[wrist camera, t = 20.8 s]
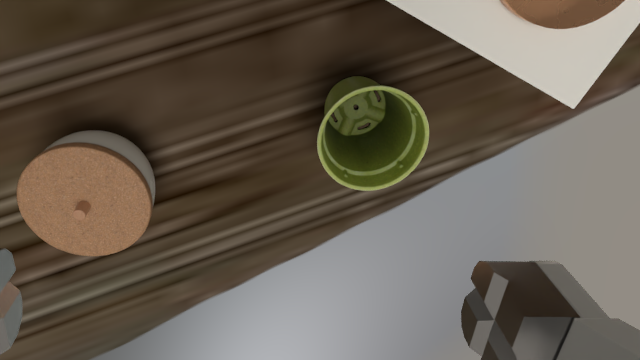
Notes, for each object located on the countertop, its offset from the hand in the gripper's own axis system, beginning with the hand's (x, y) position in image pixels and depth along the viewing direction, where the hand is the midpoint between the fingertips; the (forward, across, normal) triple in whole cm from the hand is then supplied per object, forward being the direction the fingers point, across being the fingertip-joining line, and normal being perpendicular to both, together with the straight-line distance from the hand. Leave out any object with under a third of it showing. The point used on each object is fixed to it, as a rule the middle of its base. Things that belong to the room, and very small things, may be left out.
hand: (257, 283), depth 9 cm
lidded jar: (+39, +14, +17) cm, 45 cm away
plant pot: (+39, -10, +10) cm, 42 cm away
